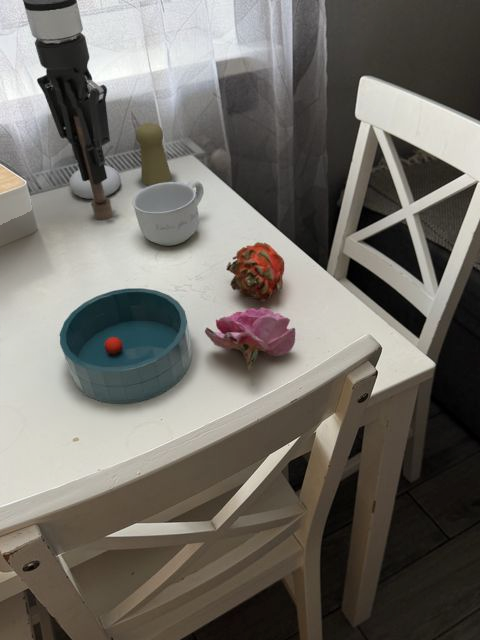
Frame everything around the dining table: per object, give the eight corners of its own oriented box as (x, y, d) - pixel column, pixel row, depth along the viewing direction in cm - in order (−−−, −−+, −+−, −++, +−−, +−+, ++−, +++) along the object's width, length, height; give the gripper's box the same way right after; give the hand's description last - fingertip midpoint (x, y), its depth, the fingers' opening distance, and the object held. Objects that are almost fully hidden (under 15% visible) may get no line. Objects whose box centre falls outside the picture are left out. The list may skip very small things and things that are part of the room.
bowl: (45, 375, 81) (32, 342, 77) (125, 307, 91) (118, 275, 87) (139, 422, 75) (130, 389, 70) (214, 343, 85) (210, 311, 81)
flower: (228, 349, 88) (254, 288, 86) (281, 382, 84) (310, 319, 81) (181, 353, 79) (208, 284, 76) (238, 391, 74) (269, 320, 72)
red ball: (108, 336, 84) (106, 333, 81) (125, 340, 84) (123, 338, 81) (103, 352, 83) (101, 350, 81) (120, 357, 83) (118, 355, 81)
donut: (105, 173, 124) (62, 189, 119) (102, 157, 121) (57, 173, 117) (132, 189, 118) (87, 207, 113) (129, 173, 116) (83, 190, 111)
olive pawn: (144, 188, 118) (134, 134, 111) (140, 174, 123) (130, 122, 115) (174, 183, 119) (166, 129, 112) (169, 170, 124) (161, 117, 116)
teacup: (161, 261, 100) (153, 219, 94) (128, 234, 106) (119, 194, 101) (227, 230, 106) (224, 189, 101) (192, 207, 112) (187, 167, 107)
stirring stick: (91, 217, 111) (64, 116, 98) (103, 209, 113) (78, 108, 100) (104, 222, 110) (79, 119, 96) (116, 213, 112) (93, 112, 99)
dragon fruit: (258, 325, 90) (250, 286, 99) (303, 291, 87) (290, 255, 97) (221, 288, 85) (216, 252, 95) (267, 252, 83) (257, 218, 93)
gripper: (113, 35, 89) (141, 179, 105) (42, 23, 95) (78, 161, 111) (77, 49, 85) (112, 198, 101) (5, 36, 91) (49, 179, 107)
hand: (94, 179), depth 106 cm, fingers closed on stirring stick, 2 cm apart
